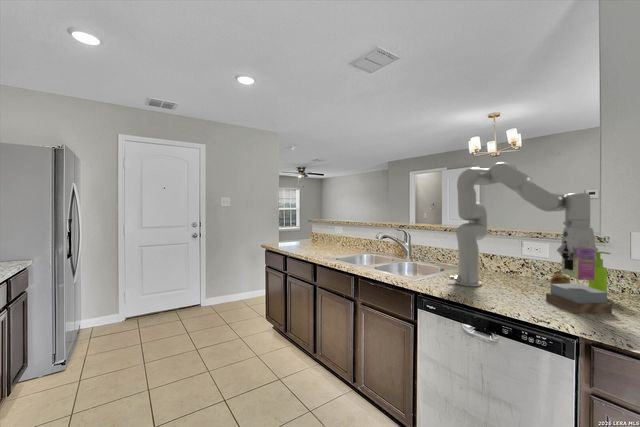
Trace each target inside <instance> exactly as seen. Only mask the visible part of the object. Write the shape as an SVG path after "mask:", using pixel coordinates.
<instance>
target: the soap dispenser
mask: <svg viewBox="0 0 640 427" xmlns="http://www.w3.org/2000/svg"><path fill="white" fill-rule="evenodd" d="M601 254H606V255H611V254H612V253H610V252H607V251H599V250H598V251H597V252H596V253H595V273H594V280H588V282H587V283H588V284H587V285H588V286H587V287H590V288H594V289H597V290H600V291H604V292H607V293H608V285H607V284H608V267H605V266H604V259H602V258H601Z"/></svg>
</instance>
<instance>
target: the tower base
mask: <svg viewBox="0 0 640 427" xmlns="http://www.w3.org/2000/svg"><path fill="white" fill-rule="evenodd" d="M545 301H546V302H547V303H550V304H553V305H555V306H557V307H560V308H561V309H564V310H568V311H570V312H571V311H572V313H574V314H577V315H590V314H592V315H593V314H594V315H596V314H599V315H600V314H612V313H613V304H612V303H610V302H607V303H581V304H578V303H576V302H573V301H570V300H567V299H565V298H562V297H559V296H557V295H554V294H551V292H545Z"/></svg>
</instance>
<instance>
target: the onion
mask: <svg viewBox="0 0 640 427" xmlns="http://www.w3.org/2000/svg"><path fill="white" fill-rule="evenodd" d="M549 282H550V285H551V284H571V280H570V278H569V276H567V275H565V274H563V273H562V270H556V271H554V272H553V276H552V277H551V278H550V281H549Z"/></svg>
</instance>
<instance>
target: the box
mask: <svg viewBox="0 0 640 427" xmlns="http://www.w3.org/2000/svg"><path fill="white" fill-rule="evenodd" d="M564 253H565V252H564ZM568 255H569V254H568ZM571 260H573V270H568V269H565V268H564V259H563V257H562V256H561V274H563V275H565V276H567V277H570V278H574V279H576V280H584V281H589V280H594V273H595V250H594V249H590V248H578V249H575V253H573V256H572V259H571Z"/></svg>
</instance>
